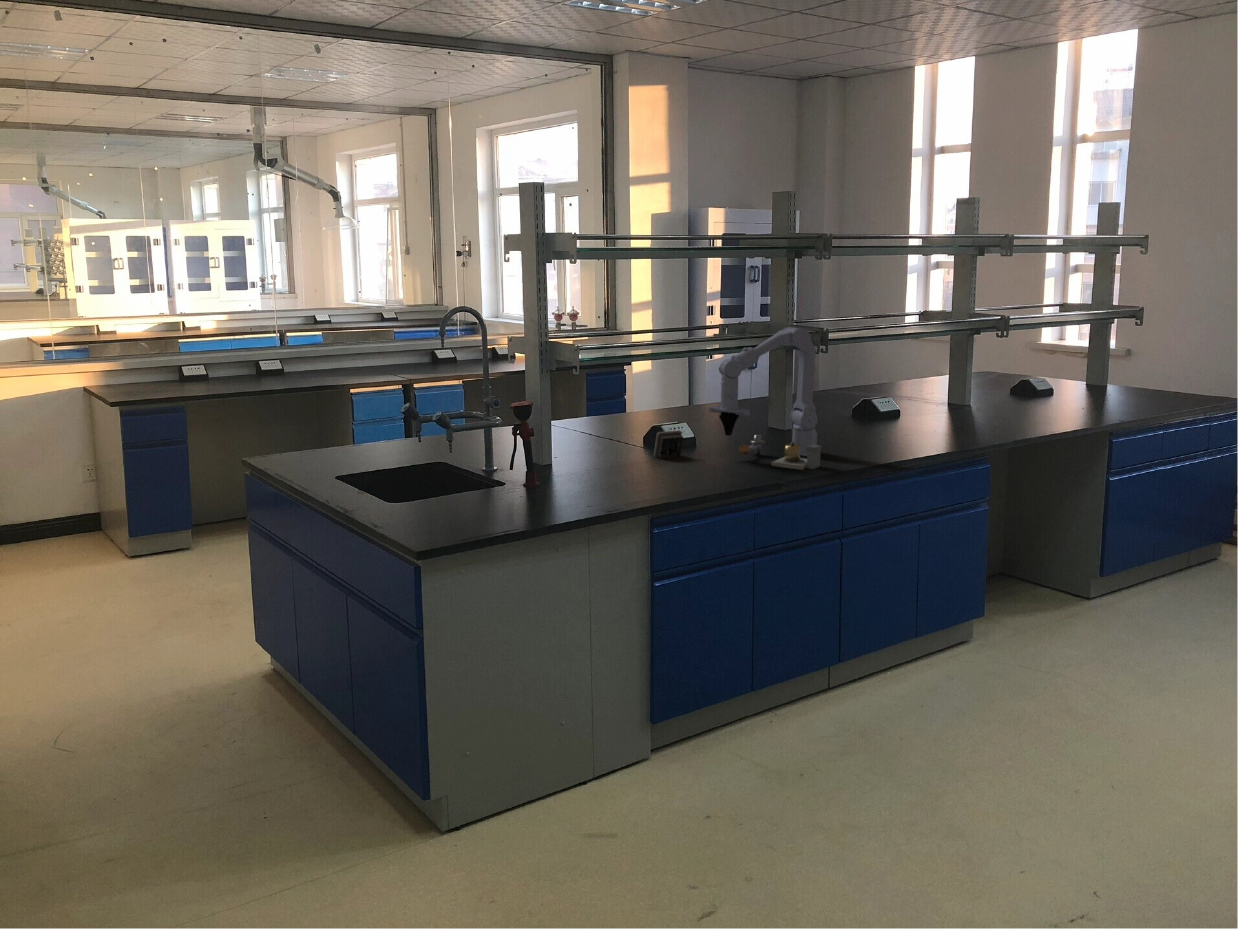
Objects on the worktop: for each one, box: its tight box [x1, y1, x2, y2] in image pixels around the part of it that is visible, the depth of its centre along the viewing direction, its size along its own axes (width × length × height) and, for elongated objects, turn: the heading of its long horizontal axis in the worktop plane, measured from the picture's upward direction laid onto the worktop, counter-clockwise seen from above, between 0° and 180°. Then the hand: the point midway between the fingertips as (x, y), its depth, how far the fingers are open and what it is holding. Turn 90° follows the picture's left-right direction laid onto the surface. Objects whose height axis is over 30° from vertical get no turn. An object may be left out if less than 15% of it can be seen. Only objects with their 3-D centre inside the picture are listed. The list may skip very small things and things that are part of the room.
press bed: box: [770, 444, 822, 471], centre depth 335 cm, size 11×14×7 cm
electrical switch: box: [653, 429, 684, 459], centre depth 348 cm, size 9×5×9 cm, turn 113°
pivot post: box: [749, 434, 766, 457], centre depth 351 cm, size 5×5×7 cm
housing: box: [784, 441, 801, 462], centre depth 336 cm, size 5×5×6 cm
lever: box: [738, 443, 757, 456], centre depth 345 cm, size 10×4×4 cm, turn 146°
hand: (728, 435), depth 345 cm, fingers closed
